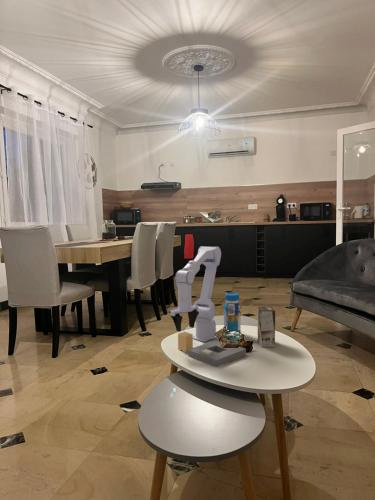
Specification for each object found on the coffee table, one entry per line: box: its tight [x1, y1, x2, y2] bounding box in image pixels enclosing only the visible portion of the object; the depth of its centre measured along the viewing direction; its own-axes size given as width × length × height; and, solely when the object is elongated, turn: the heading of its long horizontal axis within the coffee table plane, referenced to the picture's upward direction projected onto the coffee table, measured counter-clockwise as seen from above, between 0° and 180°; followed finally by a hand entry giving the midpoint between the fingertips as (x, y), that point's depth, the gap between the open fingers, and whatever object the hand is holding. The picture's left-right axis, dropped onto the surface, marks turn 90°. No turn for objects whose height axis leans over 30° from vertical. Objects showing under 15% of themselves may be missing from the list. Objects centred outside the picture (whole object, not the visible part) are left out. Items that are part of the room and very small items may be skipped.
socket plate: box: [187, 339, 247, 368], centre depth 149 cm, size 18×16×3 cm
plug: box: [177, 331, 194, 353], centre depth 156 cm, size 4×5×7 cm
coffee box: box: [257, 306, 276, 348], centre depth 161 cm, size 9×6×16 cm
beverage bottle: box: [223, 292, 242, 334], centre depth 176 cm, size 8×8×20 cm
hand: (185, 329), depth 155 cm, fingers open, 7 cm apart
